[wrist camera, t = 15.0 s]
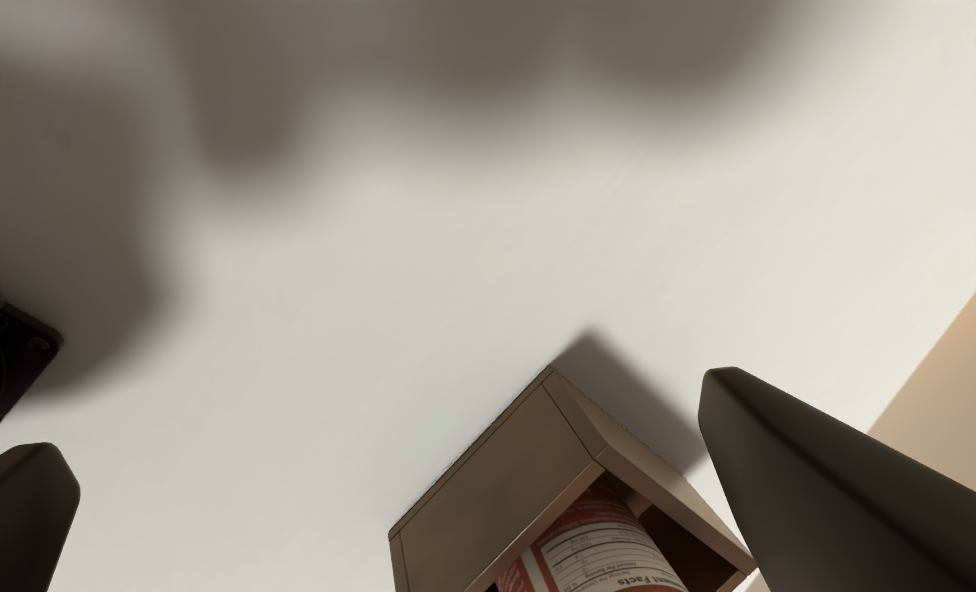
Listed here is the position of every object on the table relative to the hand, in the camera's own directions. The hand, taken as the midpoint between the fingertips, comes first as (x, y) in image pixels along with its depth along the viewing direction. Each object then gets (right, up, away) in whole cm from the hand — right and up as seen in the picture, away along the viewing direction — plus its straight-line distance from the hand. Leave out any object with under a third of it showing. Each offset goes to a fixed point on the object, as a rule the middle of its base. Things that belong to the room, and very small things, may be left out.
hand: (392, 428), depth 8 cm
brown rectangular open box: (+4, -7, +18) cm, 20 cm away
